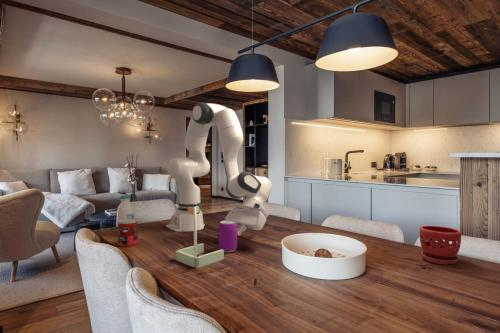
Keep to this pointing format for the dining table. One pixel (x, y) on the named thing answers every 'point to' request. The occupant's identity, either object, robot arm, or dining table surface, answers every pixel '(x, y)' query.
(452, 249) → the plant pot
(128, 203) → the milk bottle
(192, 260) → the cup corral
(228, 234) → the beverage can
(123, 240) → the canned food
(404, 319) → the dining table surface
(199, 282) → the dining table surface
